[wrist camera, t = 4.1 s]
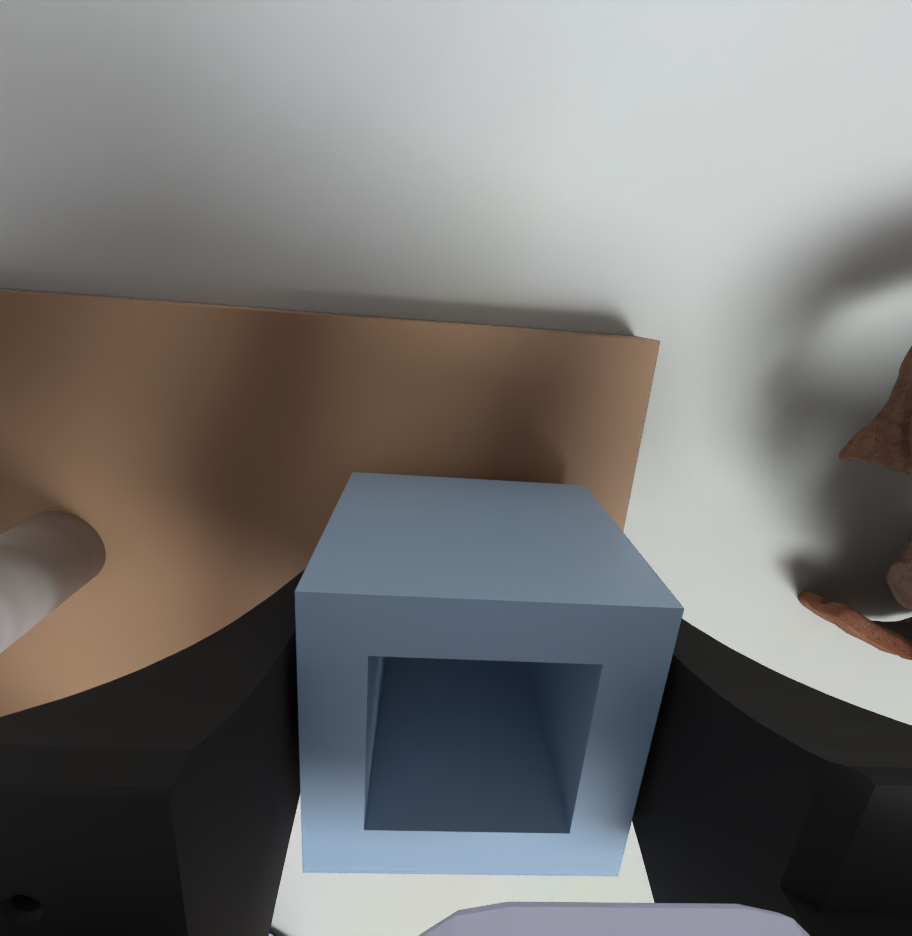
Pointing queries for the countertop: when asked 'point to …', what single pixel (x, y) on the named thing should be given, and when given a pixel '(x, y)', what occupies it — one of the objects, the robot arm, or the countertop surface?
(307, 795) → the collar
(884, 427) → the brown curled shape
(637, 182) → the countertop surface
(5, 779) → the robot arm
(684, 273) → the countertop surface
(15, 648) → the stub board
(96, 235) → the countertop surface
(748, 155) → the countertop surface
